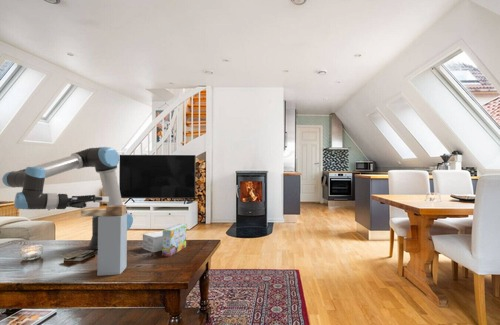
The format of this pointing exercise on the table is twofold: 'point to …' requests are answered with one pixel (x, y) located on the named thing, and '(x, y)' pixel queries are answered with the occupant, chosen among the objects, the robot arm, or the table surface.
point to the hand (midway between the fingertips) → (103, 202)
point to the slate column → (112, 245)
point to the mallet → (105, 211)
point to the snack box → (173, 239)
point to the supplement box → (153, 241)
